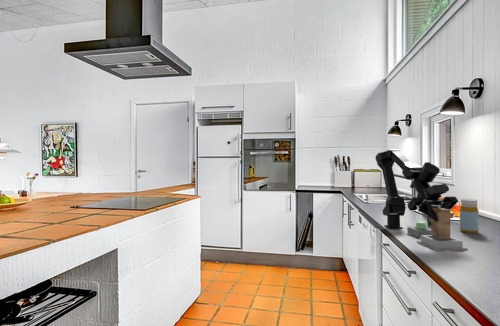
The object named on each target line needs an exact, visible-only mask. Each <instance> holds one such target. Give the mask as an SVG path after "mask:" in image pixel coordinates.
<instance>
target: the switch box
mask: <svg viewBox="0 0 500 326" xmlns="http://www.w3.org/2000/svg"><path fill="white" fill-rule="evenodd" d="M406 229H407V230H406V231H407V232H406V233H407V234H409V235H411V236H413V237H416V238H417V239H419V238H420V239H421V235H431V227H427V226H426V230H419V229H416V226H407V228H406Z"/></svg>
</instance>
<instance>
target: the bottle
mask: <svg viewBox="0 0 500 326" xmlns="http://www.w3.org/2000/svg"><path fill="white" fill-rule="evenodd" d="M479 217H480V216H479V208H478V200H477V199H472V198H460V208H459V230H460V231H461V232H463V233H467V234H478V232H479V230H480V228H479V226H480V225H479Z"/></svg>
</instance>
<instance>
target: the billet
mask: <svg viewBox="0 0 500 326" xmlns="http://www.w3.org/2000/svg"><path fill="white" fill-rule="evenodd" d="M432 209H433V211H434V212H435V214H436V216H437V218H438V221H437V222H436V221H435V220H433V219H431V227H430V229H431V236H434V237H437V238H450V237H451V209H445V208H432Z"/></svg>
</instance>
